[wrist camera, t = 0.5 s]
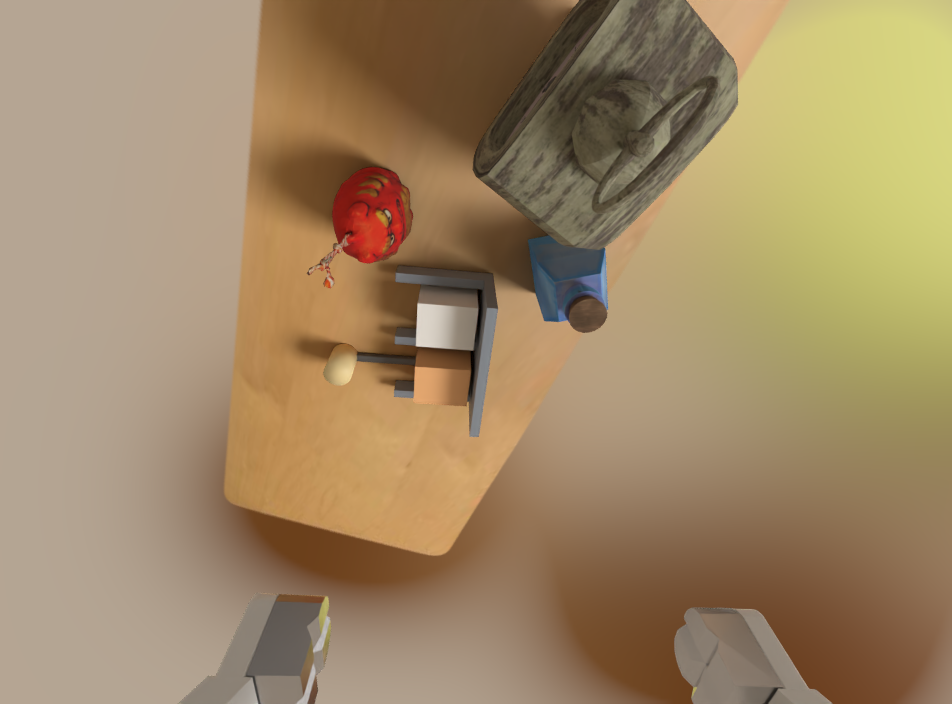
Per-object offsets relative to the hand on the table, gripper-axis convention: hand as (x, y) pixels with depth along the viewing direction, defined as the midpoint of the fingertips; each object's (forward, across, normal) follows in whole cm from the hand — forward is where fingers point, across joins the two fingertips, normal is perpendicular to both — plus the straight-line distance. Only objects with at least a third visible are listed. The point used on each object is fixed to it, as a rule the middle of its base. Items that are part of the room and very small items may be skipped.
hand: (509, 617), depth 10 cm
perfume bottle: (+40, -9, +2) cm, 41 cm away
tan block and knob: (+41, +7, +15) cm, 44 cm away
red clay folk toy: (+39, +10, -3) cm, 41 cm away
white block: (+40, +2, +8) cm, 41 cm away
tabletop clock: (+38, -7, -12) cm, 41 cm away
